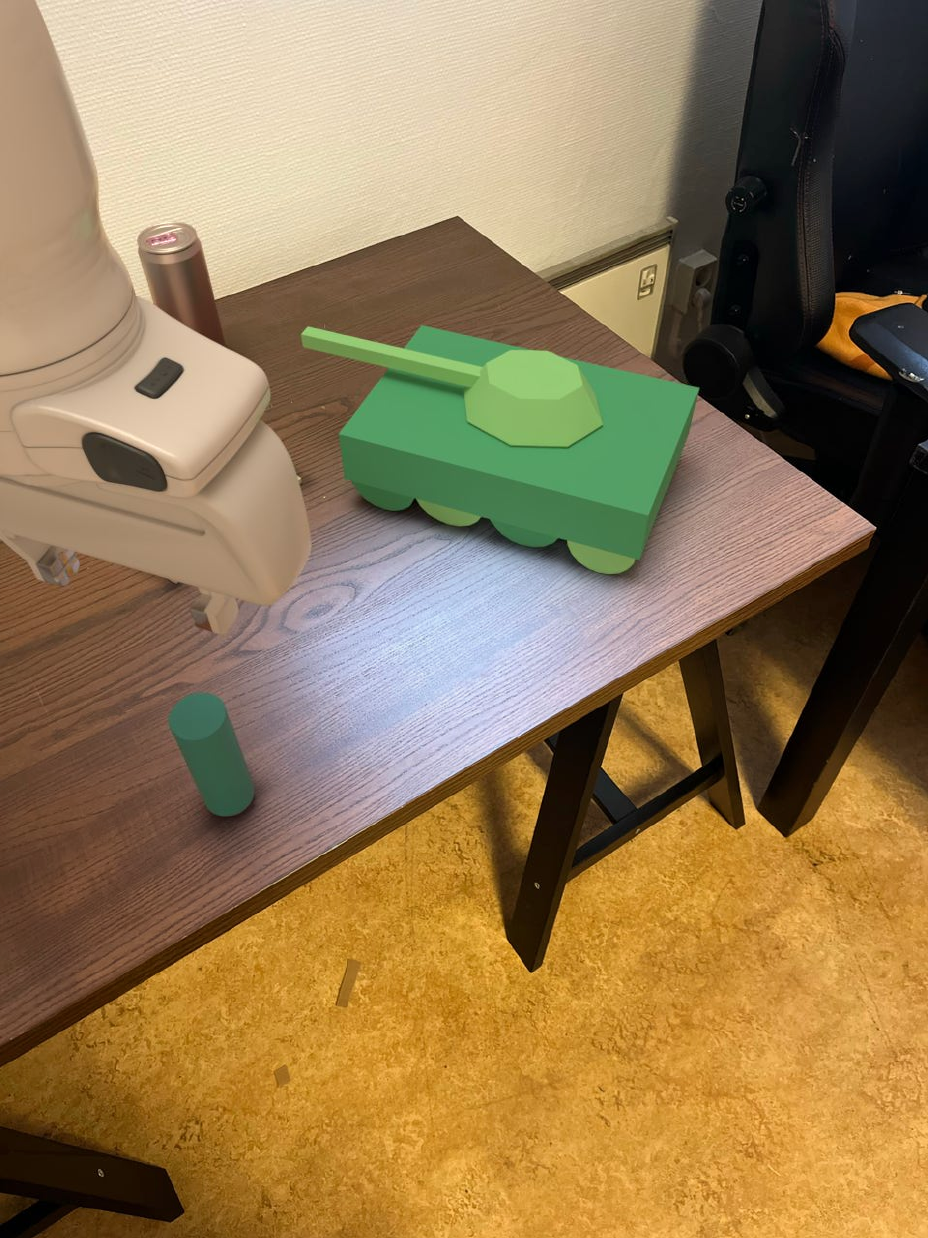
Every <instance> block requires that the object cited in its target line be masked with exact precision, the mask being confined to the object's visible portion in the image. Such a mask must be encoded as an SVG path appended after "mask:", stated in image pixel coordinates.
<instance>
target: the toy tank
mask: <svg viewBox="0 0 928 1238" xmlns="http://www.w3.org/2000/svg"><path fill="white" fill-rule="evenodd" d="M300 338H301V342H302V348H303V349H304V348H305V349H309V350H313V351H316V352H322V353H326V354H329V355H334V356H338V357H343V358H347V359H351V360H354V361H359V362H363V363H367V364H372V365H376V366H379V367H383V368H384V367H385V368H387V370H386V371H385V373H384V374H383V375H382V376H381V378H380V379H379V380H378V381H377V383H376V384H375V386H374V387H373V388H372V389H371V391H370V392H369V393H368V395H367V396H366V397H365V398H364V400H363V402H361V404H360V405H359V407H358V408H357V409H356V411H354V413H353V415H352V416H351V417H350V418H349V420H348V421H347V422H346V424H345V425H344V426H343V427H342V429H341V430H340V431H339V432H338V440H339V447H340V453H341V461H342V469H343V475H344V480H347V481H350V482H351V484H352V485H353V486H354V488H355V490H356V491H357V492H358V494H360V496H362V497H363V499H364V500H366V501H367V502H370V503H371V504H372V505H374V506H376V507H378V508H380V509H383V510H386V511H392V512H397V511H404V510H405V509H408V508H409V507H410V506H411V504H412V503H413V501H414V500H416V501H417V503H418V505H419V507H421V508H422V509H423V510H424V512H426V513H427V514H428V515H429V516H431V517H433V519H436V520H437V521H439V522H441V523H444V524H446V525H449V526H456V527H467V526H471V525H474V524H475V523H477V522H478V521H480V519H481V518H485V519H489V520H490V522H491V524H492V525H493V527H494V528H495V529H496V530H497V531H498V532H499V534H501V535H502V536H503V537H505V538H506V539H508V540H510V541H511V542H514V543H516V544H519V545H521V546H524V547H529V548H542V547H543V548H545V547H546V546H549V545H552V544H554V543H555V542H556V541H557V540H558V539H561V540H563V541H564V540H565V541H566V542H567V547H568V549H569V551H570V554H571V555H572V556H573V558H575V559H576V561H577V562H578V563H579V564H581V565H582V566H584V567H585V568H587V569H589V570H592V571H594V572H596V573H599V574H606V575H613V574H614V575H615V574H621V573H623V572H625V571H627V570H629V569H630V568H631V567H632V566H633V565H634V564H635V562H636V560H637V561H641V558H642V556H643V552H644V550H645V547H646V545H647V542H648V540H649V538H650V534H651V533H652V530H653V527H654V525H655V522H656V520H657V516H658V514H659V511H660V510H661V507H662V504H663V501H664V499H665V496H666V494H667V491H668V489H669V486H670V483H671V481H672V479H673V476H674V474H675V471H676V469H677V467H678V463H679V461H680V458H681V455H682V453H683V450H684V447H685V446H686V443H687V440H688V437H689V435H690V431H691V428H692V422H693V419H694V413H695V409H696V405H697V401H698V396H699V392H700V387H699V386H698V387H697V386H693V385H689V384H684V383H679V382H675V381H671V380H667V379H662V378H657V377H654V376H650V375H649V376H648V375H646V374H645V375H644V374H640V373H635V372H631V371H626V370H622V369H617V368H613V367H609V366H604V365H600V364H595V363H591V362H587V361H583V360H578V359H573V358H569V357H565V356H559V355H557V354H556V353H554V352H551V351H549V350H536V349H535V350H534V349H529V348H524V347H521V346H516V345H511V344H507V343H502V342H500V341H499V342H498V341H494V340H489V339H485V338H481V337H476V336H472V335H467V334H463V333H458V332H454V331H449V330H444V329H442V328H441V329H440V328H436V327H431V326H427V325H423V324H421V325H420V326H419V328H418V329H417V330H416V332H415V333H414V335H413V336H412V337H411V338H410V339H409V341H408V342H407V343H406V345H405V346H404V347H403V348H402V347H398V346H394V345H391V344H385V343H382V342H377V341H372V340H369V339H364V338H359V337H356V336H352V335H346V334H344V333H343V334H342V333H338V332H334V331H329V330H325V329H322V328H318V327H313V326H309V325H308V326H307V327H306V328H305V329H304V330H303V331H302V332H301V334H300Z"/></svg>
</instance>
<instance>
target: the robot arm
mask: <svg viewBox="0 0 928 1238" xmlns="http://www.w3.org/2000/svg"><path fill="white" fill-rule="evenodd" d="M98 175H99V174H98V170H97V166H96V163H95V160H94V155H93V152H92V149H91V147H90V144H89V140H88V137H87V134H86V131H85V127H84V125H83V121H82V119H81V115H80V113H79V109H78V107H77V104H76V101H75V98H74V94H73V91H72V89H71V87H70V84H69V80H68V78H67V75H66V73H65V70H64V67H63V64H62V62H61V60H60V57H59V54H58V51H57V49H56V46H55V44H54V41H53V39H52V36H51V33H50V31H49V28H48V26H47V24H46V21H45V19H44V16H43V15H42V12H41V10H40V8H39V6H38V3H37V1H36V0H0V541H1V542H3V543H4V544H5V545H6V546H7V547H8V548H10V549H11V550H12V551H14V553H16V554H17V555H18V556H19V557H20V558H21V559H23V560H25V561H26V562H27V564H28V566H29V568H30V570H31V572H32V573H33V576H34V577H35V579H36V580H37V581H39V582H43V583H48V584H51V585H55V586H59V587H66V586H68V585H69V584H70V582H71V579H72V578H73V577H75V576H76V575H77V574H78V573H79V571H80V568H81V561H80V559H79V558H78V557H77V555H75V554H76V553H77V554H80V555H84V556H88V557H91V558H94V559H98V560H102V561H104V562H108V563H111V564H114V565H115V564H116V565H118V566H122V567H125V568H129V569H132V570H136V571H139V572H143V573H147V574H150V575H153V576H156V577H160V578H164V579H167V580H169V579H170V580H169V581H171V580H174V581H177V582H178V583H181V584H183V585H184V584H185V585H187V586H188V585H189V586H190V587H191V586H192V587H195V588H197V589H198V591H199V593H200V596H199V597H197V598H195V599H194V601H193V602H192V603H191V605H190V606H189V608H188V609H189V612H190V615H191V617H192V618H193V620H195V621H194V625H195V627H196V628H198V629H201V630H204V631H208V632H211V633H213V634H216V635H219V636H225V635H227V633H228V632H229V630H230V629H231V628H232V626H233V625H234V623H235V622H236V620H237V618H238V616H239V615H238V614H239V612H240V611H239V610H240V609H239V606H238V602H237V600H240V601H244V602H246V603H250V604H253V605H256V606H260V607H270V606H273V605H274V604H275V603H276V602H278V601H280V600H281V598H282V597H284V596H285V595H286V594H287V593H288V591H289V590H290V589H291V588H292V586H293V585H294V584H295V582H296V581H297V580H298V578H299V576H300V575H301V573H302V571H303V569H304V568H305V566H306V564H307V562H308V560H309V558H310V556H311V552H312V548H313V542H312V541H313V539H312V533H311V531H312V530H311V526H310V521H309V515H308V512H307V511H308V510H307V507H306V503H305V499H304V494H303V491H302V487H301V484H299V481H298V478H297V476H298V474H297V472H296V469H295V466H294V463H293V460H292V458H291V455H290V452H289V450H287V447H286V446H285V444H284V442H283V441H282V439H281V438H280V436H278V434H277V433H276V432H275V431H274V430H273V429H272V428H271V427H270V426H269V425H268V424H267V423H265V422H264V421H263V420H261V418H262V416H263V415H264V413H265V411H266V410H267V408H268V406H269V404H270V402H271V388H270V384H269V380H268V377H267V375H266V373H265V372H264V370H263V369H262V368H261V366H260V365H258V364H257V363H255V361H252V360H251V359H249V358H247V357H245V356H244V355H241V354H239V353H237V352H236V351H234V350H232V349H229V348H227V347H226V348H225V347H223V346H222V345H220V344H218V343H216V342H214V341H212V340H210V339H208V338H206V337H204V336H203V335H201V334H199V333H197V332H195V331H194V330H192V329H190V328H189V327H187V326H185V325H183V324H182V323H180V322H179V321H177V320H176V319H174V318H173V317H171V316H170V315H168V314H167V313H165V312H164V311H163V310H161V309H160V308H158V307H157V306H156V305H154V304H153V302H151V301H149V300H147V299H145V298H143V297H142V296H138V295H137V294H136V290H135V287H134V284H133V281H132V277H131V275H130V272H129V270H128V269H127V267H126V264H125V262H124V261H123V259H122V257H121V256H120V254H119V253H118V252H117V250H116V249H115V247H114V245H112V244H113V243H112V242H111V241H110V239H109V238H108V235H107V232H106V230H105V228H104V225H103V221H102V218H101V213H100V203H99V201H100V194H99V193H100V190H99V189H100V187H99V185H100V184H99V176H98Z"/></svg>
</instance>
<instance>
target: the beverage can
mask: <svg viewBox="0 0 928 1238" xmlns="http://www.w3.org/2000/svg"><path fill="white" fill-rule="evenodd" d="M136 242H137V245H138V246H137V247H138V248H137V251H138V257H139V261H140V264H141V267H142V270H143V274H144V277H145V280H146V284H147V287H148V290H149V294H150V298H151V301H152V303H153V304H154V305H156V306H157V307H158V308H160V309H161V310H163V311H164V312H165V313H167V314H168V315H170V316H171V317H173V318H174V319H176V320H177V321H179V322H180V323H182V324H183V325H185V326H187V327H189V328H190V329H192V330H194V331H195V332H197V333H199V334H201V335H203V336H204V337H206V338H208V339H210V340H212V341H214V342H216V343H218V344H220V345H222V346H223V347H225V348H227V345H226V340H225V336H224V333H223V327H222V324H221V319H220V314H219V311H218V307H217V303H216V299H215V294H214V291H213V286H212V282H211V278H210V274H209V269H208V266H207V261H206V257H205V253H204V248H203V245H202V241H201V239H200V238H199V236H198V232H197V230H196V229H195V227H193V225H190V224H188V223H185V222H180V221H166V222H160V223H156V224H153V225H151V226H148V227H146V228H145V229H143V230H142V231H141V232H140V233H139V234H138V236H137V239H136Z"/></svg>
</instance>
